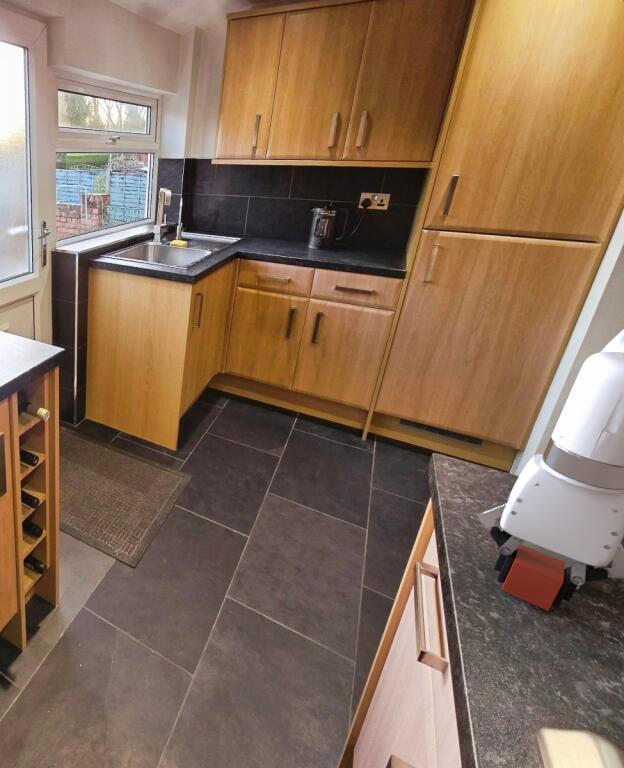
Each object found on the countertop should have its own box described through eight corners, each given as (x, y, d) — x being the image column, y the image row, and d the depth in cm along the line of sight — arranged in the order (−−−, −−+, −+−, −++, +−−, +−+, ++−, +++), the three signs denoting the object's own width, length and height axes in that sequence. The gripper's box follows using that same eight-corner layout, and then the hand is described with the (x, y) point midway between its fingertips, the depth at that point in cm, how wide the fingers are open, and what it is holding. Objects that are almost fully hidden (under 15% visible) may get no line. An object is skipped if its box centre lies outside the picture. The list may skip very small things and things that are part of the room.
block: (551, 590, 62) (565, 561, 60) (548, 611, 59) (563, 582, 57) (506, 571, 65) (518, 543, 63) (501, 590, 62) (514, 561, 60)
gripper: (694, 481, 52) (618, 609, 59) (499, 426, 63) (455, 540, 70) (705, 512, 47) (620, 648, 54) (490, 446, 57) (443, 568, 65)
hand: (528, 586), depth 62 cm, fingers open, 4 cm apart
